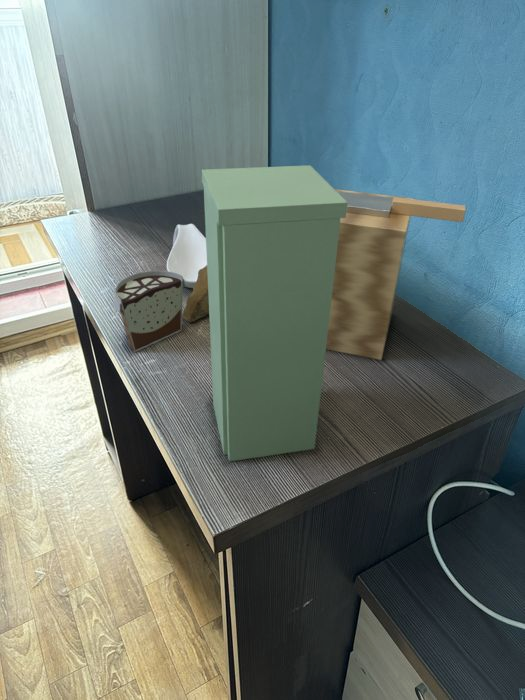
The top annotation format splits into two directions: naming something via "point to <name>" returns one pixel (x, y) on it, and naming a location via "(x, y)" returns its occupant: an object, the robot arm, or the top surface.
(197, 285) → the rock
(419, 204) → the knife
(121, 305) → the mint chocolate cake slice
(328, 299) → the tall green cabinet
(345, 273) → the block
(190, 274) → the spoon rest
